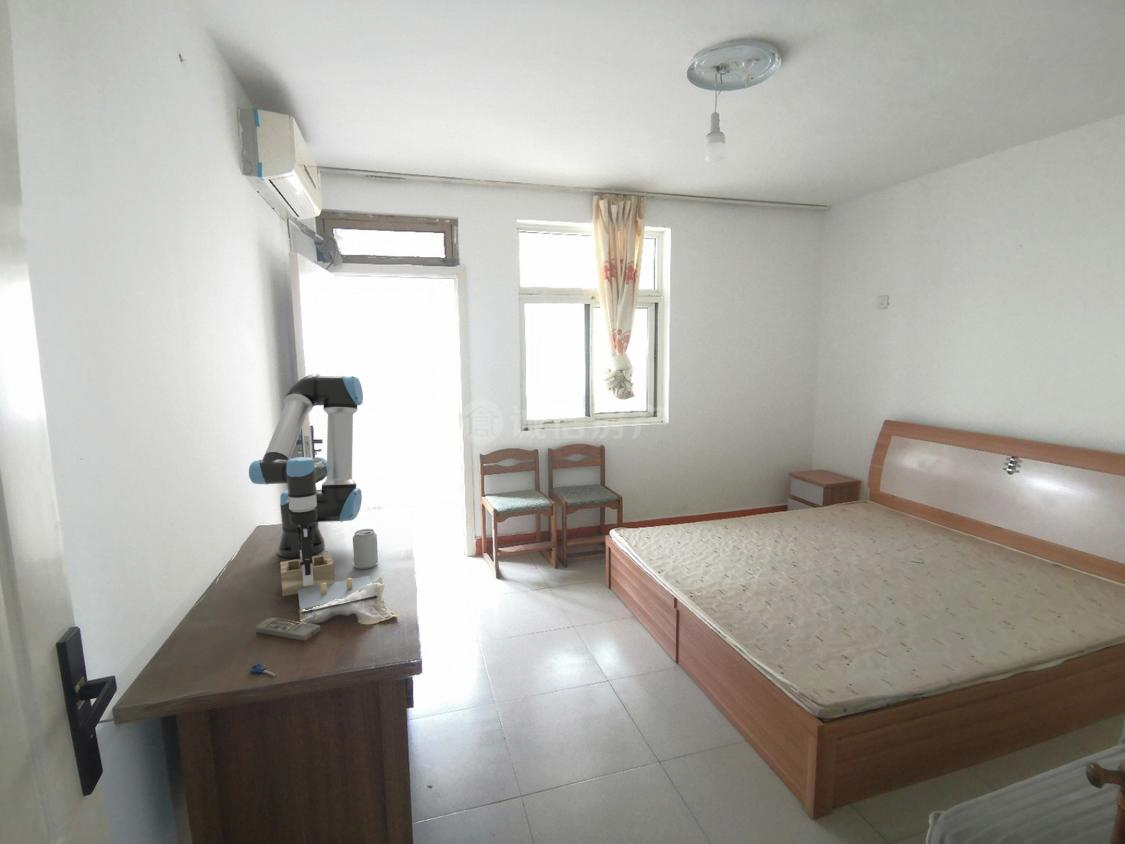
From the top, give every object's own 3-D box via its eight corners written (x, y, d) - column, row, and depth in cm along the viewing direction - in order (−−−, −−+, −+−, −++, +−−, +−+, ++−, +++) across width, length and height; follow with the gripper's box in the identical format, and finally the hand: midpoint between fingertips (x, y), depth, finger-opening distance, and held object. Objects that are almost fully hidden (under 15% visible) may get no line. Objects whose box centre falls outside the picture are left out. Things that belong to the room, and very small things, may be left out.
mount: (297, 593, 153) (297, 579, 153) (369, 579, 163) (368, 566, 163) (300, 613, 141) (299, 598, 141) (377, 596, 151) (376, 582, 150)
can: (370, 571, 170) (368, 535, 168) (349, 569, 171) (347, 534, 170) (382, 562, 177) (380, 528, 175) (362, 560, 178) (360, 527, 177)
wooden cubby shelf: (281, 583, 160) (280, 562, 159) (331, 574, 167) (330, 553, 166) (282, 596, 151) (281, 573, 151) (334, 586, 158) (333, 564, 157)
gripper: (287, 501, 165) (291, 566, 167) (290, 520, 144) (294, 594, 146) (313, 498, 169) (317, 561, 171) (320, 516, 147) (324, 589, 149)
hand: (307, 577), depth 158 cm, fingers open, 13 cm apart
